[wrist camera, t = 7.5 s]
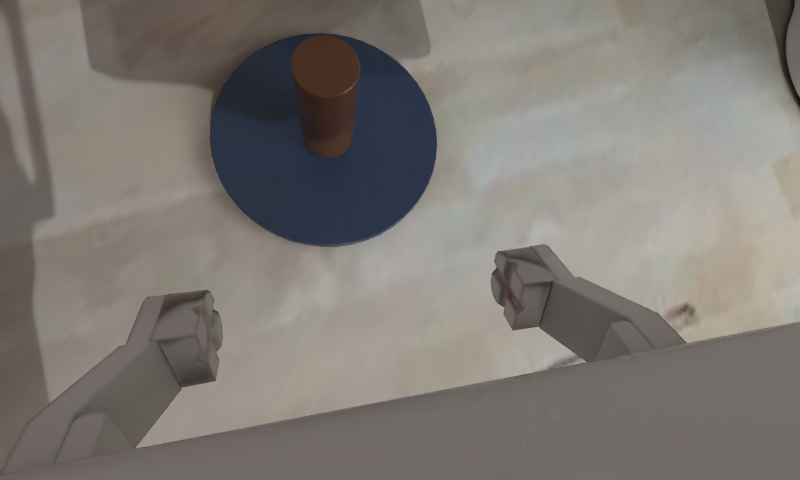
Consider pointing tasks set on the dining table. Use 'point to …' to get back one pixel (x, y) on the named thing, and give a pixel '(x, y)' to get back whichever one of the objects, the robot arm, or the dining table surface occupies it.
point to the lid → (323, 140)
